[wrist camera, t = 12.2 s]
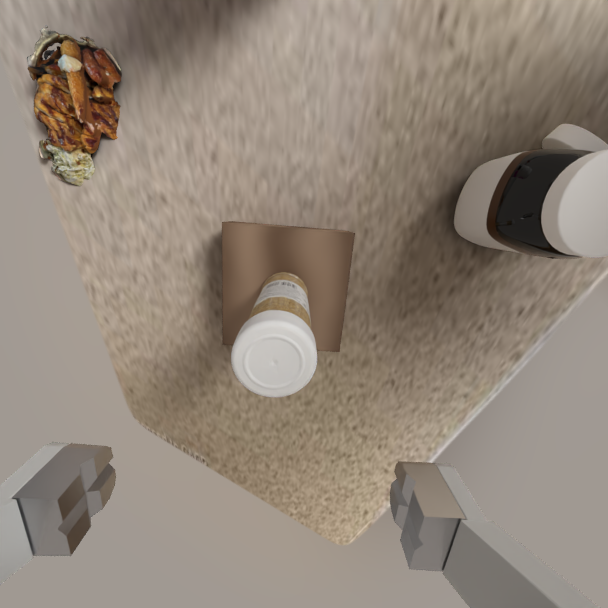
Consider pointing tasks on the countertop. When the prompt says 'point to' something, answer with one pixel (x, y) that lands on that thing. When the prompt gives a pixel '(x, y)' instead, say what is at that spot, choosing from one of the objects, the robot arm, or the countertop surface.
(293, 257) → the walnut base
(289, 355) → the sprinkles bottle
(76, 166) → the pastry
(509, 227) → the spread jar
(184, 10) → the countertop surface
